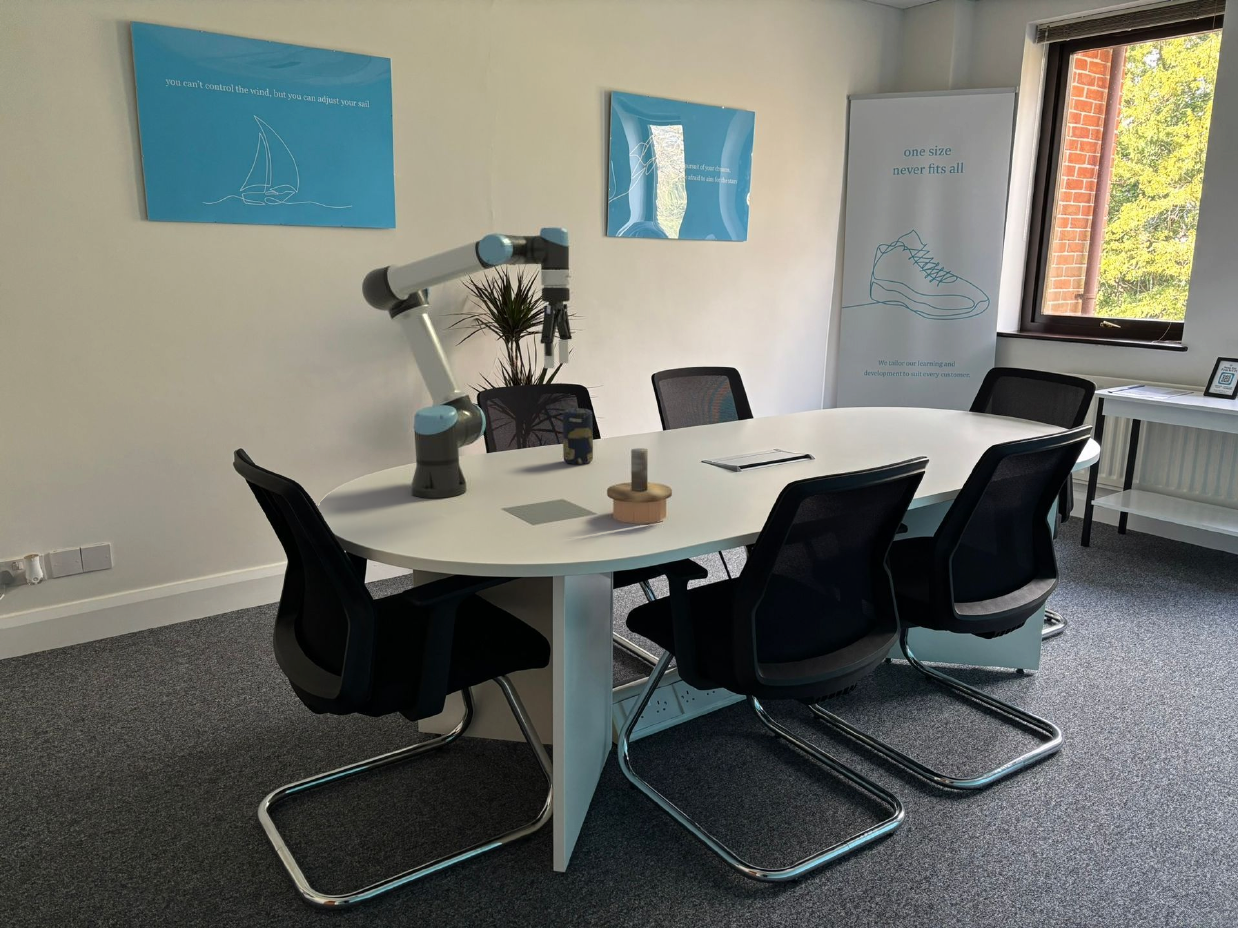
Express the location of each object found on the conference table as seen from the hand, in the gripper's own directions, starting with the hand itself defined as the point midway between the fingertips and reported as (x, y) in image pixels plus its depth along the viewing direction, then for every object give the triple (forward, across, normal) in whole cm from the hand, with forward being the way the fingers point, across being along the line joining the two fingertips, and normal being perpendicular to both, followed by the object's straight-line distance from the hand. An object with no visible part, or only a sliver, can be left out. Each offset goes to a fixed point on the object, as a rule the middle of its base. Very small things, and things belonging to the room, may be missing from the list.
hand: (557, 365), depth 247 cm
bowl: (+35, -26, -28) cm, 52 cm away
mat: (+35, -26, -5) cm, 44 cm away
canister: (+35, +35, +4) cm, 50 cm away
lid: (+29, -25, -28) cm, 48 cm away
